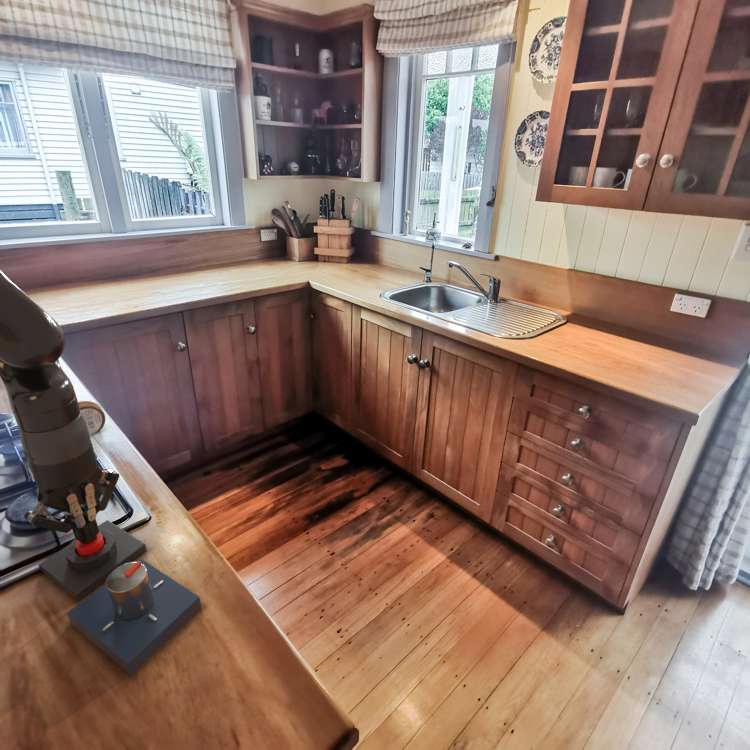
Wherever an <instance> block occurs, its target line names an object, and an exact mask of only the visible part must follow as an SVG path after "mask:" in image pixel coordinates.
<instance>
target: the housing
mask: <svg viewBox="0 0 750 750" xmlns="http://www.w3.org/2000/svg"><path fill="white" fill-rule="evenodd" d="M98 528H99V533H100V534H101V535H102V537H103V540H104V543H105V545H104V547H103V548H102V549H101V550H100V551H98V552H97V553H95V554H93V555H90V556H79V555H78V552H77V549H76V546H75V544H76V541H77V539H75V538H74V539H73V540H72V541H71V542H70V543H69V544H68V545H66V546H65V547H63V548H61V549H60V550H58V551H57V552H55V553H54V554H52V555H50V556H49V557H48V558H46V559H45V560H43V561H41V562H40V563H39V564H38V567H39V569H40V572H41V573H42V574H44V575H45V577H47V578H48V579H50V581H52V582H53V583H54V584H56V585H57V586H58V587H59V588H61V589H62V590H63V591H64V592H66V593H67V594H68V595H69V596H71V597H72V598H73V599H74V600H76V601H77V602H80V603H81V602H82V601H83V600H85V599H86V598H87V597H89V596H90V595H91V594H93V593H94V592H95V591H97V590H98V588H101V587H102V586H103V584H104V585H105V584H106V581H107V578H108V576H109V575H110V573H111V572H112V571H113V570H115V569H116V568H117V567H119V566H121V565H123V564H126V563H130V562H135V561H137V560H138V559H139V558H141V556H142V555H143V554H145V553H146V552H147V551H148V550H147V549H148V548H147V545H146V543H145V542H143V541H141V540H140V539H138V538H136V537H135V536H133V535H132V534H130V533H128V532H127V531H125V530H124V529H122V528H121V527H119V526H118V525H116V524H115V523H113V522H111V521H110V520H105V521H104V522H102V523H100V524H99V525H98Z"/></svg>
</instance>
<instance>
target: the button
mask: <svg viewBox="0 0 750 750" xmlns="http://www.w3.org/2000/svg"><path fill="white" fill-rule="evenodd" d="M104 545H105V543H104V540H103V537H102V535H101V534H100V533H98V534H97V539H95V540H94V541H92V542H91V543H89V544H88V545H87V544H86V543H81V542H80V541H78V540H77V541H76V544H75V546H76V549H77V552H78V555H79V556H90V555H93V554H95V553H97V552H98V551H100V550H101V549H102V548H103V547H104Z"/></svg>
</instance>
